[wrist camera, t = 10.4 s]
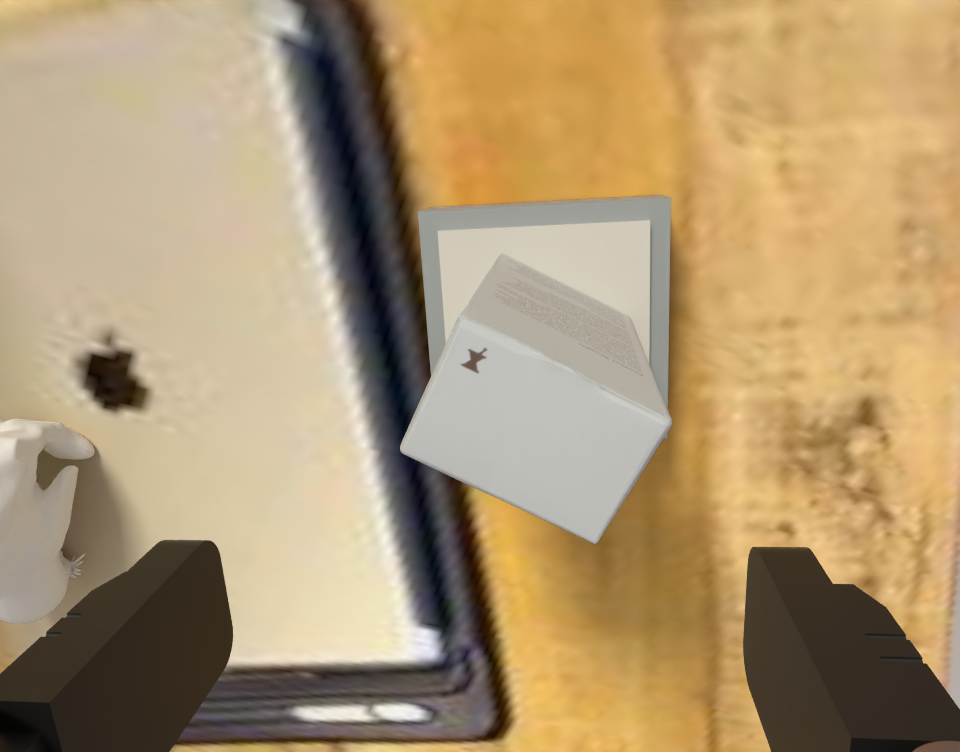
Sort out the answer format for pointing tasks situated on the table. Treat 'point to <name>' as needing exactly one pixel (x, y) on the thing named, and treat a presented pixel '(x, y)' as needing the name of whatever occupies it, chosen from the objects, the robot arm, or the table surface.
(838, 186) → the table surface
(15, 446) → the white rounded figure
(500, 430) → the skincare box
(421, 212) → the plinth
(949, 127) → the table surface
